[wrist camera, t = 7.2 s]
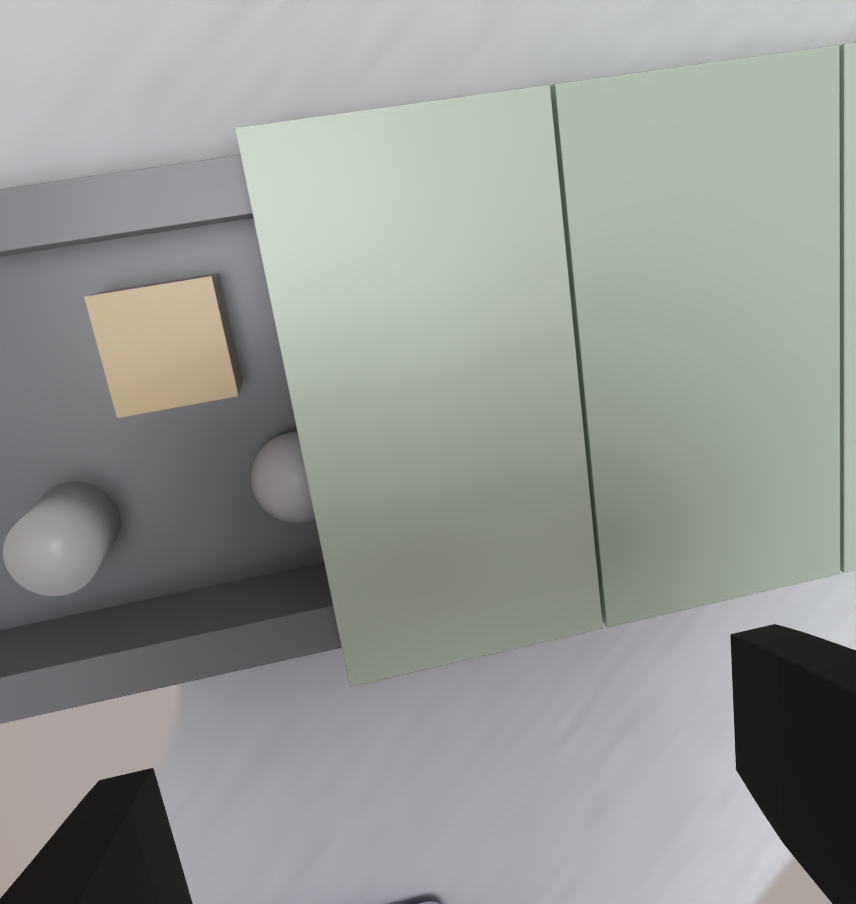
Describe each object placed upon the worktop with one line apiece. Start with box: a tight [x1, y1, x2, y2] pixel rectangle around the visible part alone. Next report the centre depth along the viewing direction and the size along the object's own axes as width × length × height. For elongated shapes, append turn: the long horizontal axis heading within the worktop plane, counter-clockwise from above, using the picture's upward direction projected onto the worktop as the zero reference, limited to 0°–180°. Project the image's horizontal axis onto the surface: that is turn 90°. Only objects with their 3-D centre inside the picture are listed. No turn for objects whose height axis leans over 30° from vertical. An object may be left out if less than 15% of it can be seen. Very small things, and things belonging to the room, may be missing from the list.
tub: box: [0, 155, 342, 724], centre depth 17 cm, size 10×16×3 cm, turn 99°
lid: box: [235, 43, 856, 687], centre depth 14 cm, size 11×16×4 cm, turn 99°
